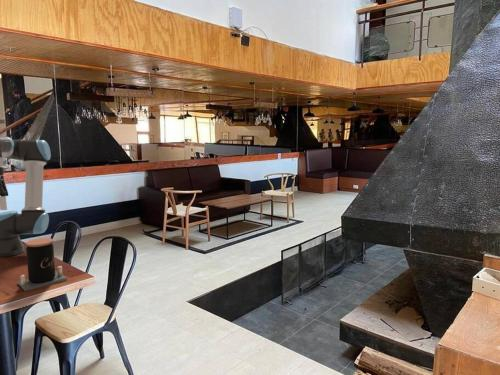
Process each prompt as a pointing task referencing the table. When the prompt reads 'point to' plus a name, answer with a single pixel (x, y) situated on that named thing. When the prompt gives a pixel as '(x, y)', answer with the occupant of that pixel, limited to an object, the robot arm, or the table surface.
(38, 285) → the peg board
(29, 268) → the coffee jar
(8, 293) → the table surface
